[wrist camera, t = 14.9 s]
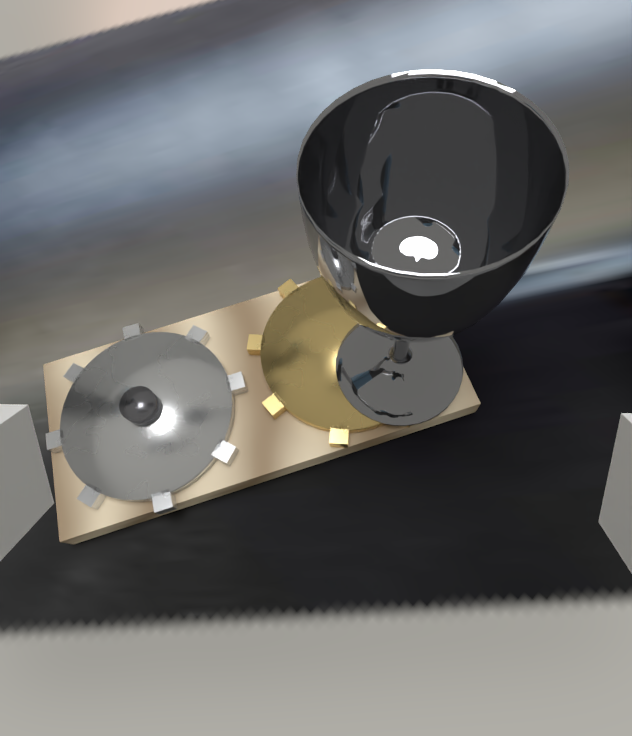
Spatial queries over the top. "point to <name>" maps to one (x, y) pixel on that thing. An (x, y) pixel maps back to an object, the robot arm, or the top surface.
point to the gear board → (205, 410)
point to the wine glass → (424, 224)
